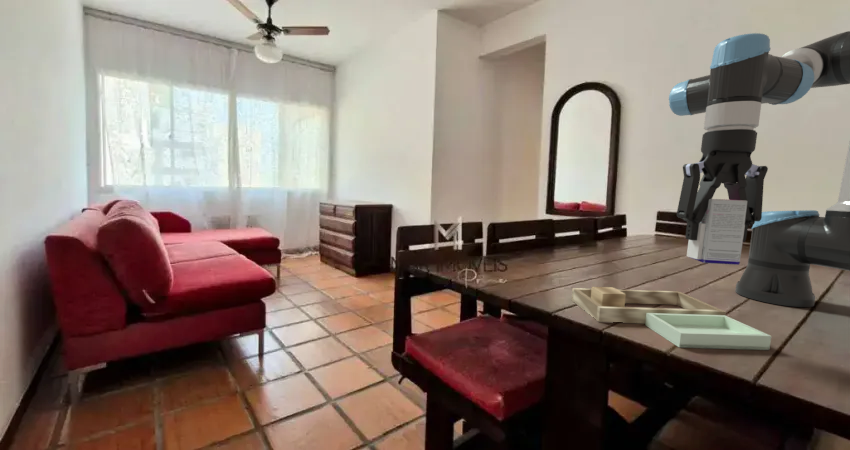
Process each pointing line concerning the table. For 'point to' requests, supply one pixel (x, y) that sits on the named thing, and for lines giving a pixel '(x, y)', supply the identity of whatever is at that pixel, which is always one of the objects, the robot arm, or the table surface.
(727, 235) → the supplement box
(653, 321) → the tray
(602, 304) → the oak block
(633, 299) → the frame
